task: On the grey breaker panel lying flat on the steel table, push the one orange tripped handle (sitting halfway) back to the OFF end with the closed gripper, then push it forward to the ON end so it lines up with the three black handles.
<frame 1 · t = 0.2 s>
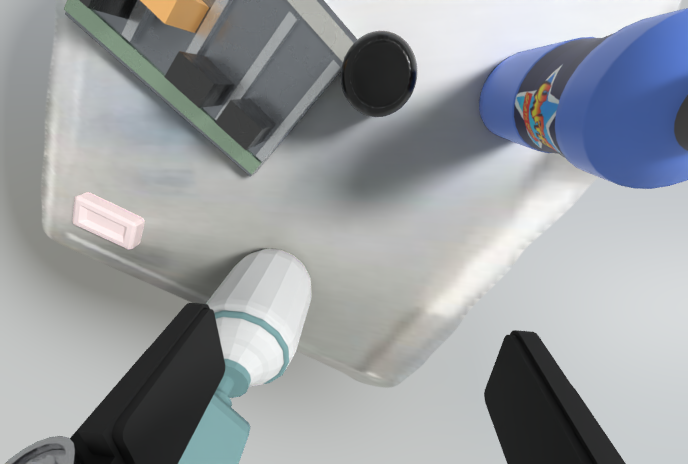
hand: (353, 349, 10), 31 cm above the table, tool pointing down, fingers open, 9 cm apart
water bottle: (520, 96, 33), on the table
breaker panel: (219, 31, 33), on the table
supplement bottle: (376, 78, 33), on the table
soap bar: (116, 217, 45), on the table
soap bottle: (278, 274, 47), on the table
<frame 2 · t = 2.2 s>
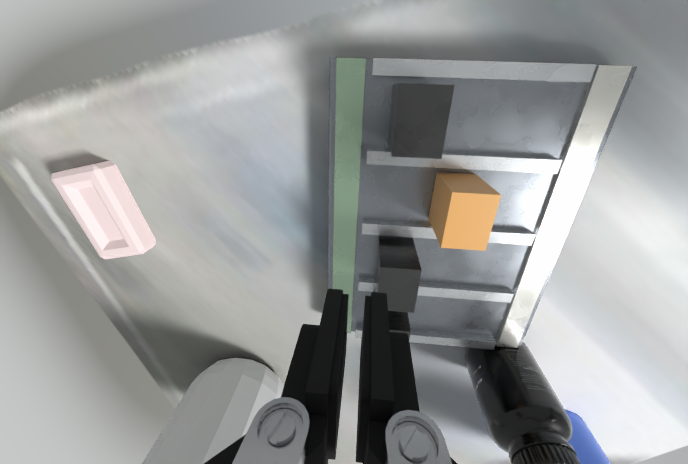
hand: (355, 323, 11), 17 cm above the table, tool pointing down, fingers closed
water bottle: (546, 429, 39), on the table
breaker panel: (439, 220, 27), on the table
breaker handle: (459, 208, 21), point 5 cm above the table, slide at 4.0 cm
supplement bottle: (493, 352, 33), on the table
soap bar: (118, 207, 30), on the table
soap bottle: (248, 379, 39), on the table
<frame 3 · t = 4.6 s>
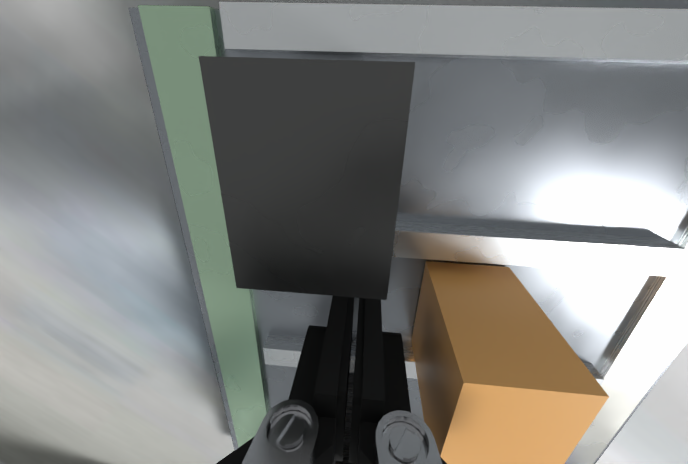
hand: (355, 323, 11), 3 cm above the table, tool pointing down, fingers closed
breaker panel: (416, 323, 15), on the table
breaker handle: (476, 358, 9), point 5 cm above the table, slide at 3.1 cm, touching gripper
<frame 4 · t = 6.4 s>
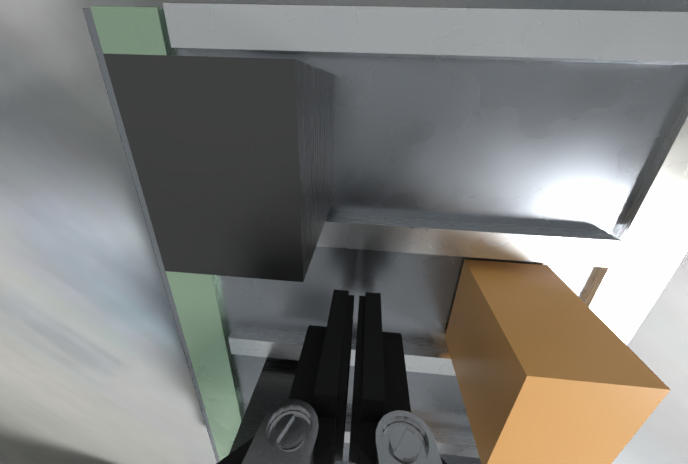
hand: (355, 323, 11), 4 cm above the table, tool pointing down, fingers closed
breaker panel: (382, 316, 15), on the table
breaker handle: (519, 354, 10), point 5 cm above the table, slide at 0.0 cm
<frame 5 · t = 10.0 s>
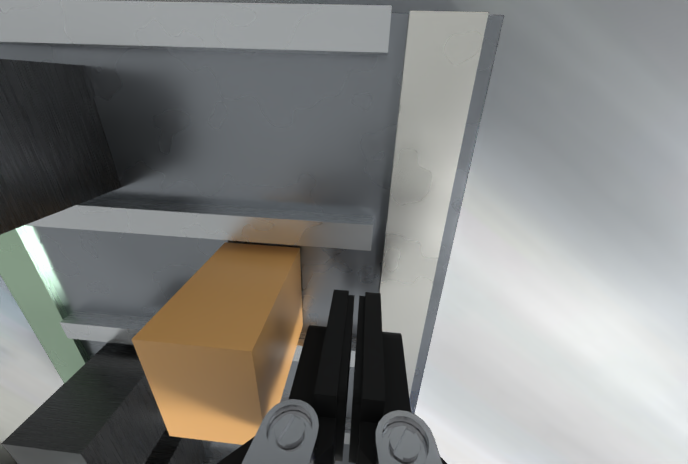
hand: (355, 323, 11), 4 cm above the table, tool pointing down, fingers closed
breaker panel: (233, 303, 16), on the table
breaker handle: (242, 330, 10), point 5 cm above the table, slide at 1.2 cm, touching gripper
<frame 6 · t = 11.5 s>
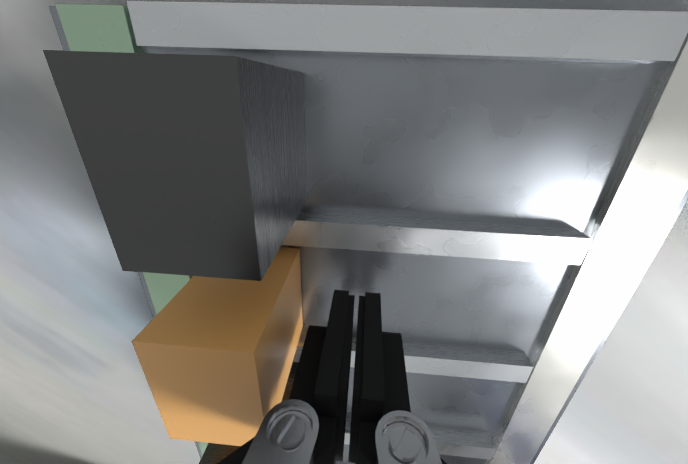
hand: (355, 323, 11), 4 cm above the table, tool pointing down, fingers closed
breaker panel: (365, 315, 15), on the table
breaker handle: (243, 331, 10), point 5 cm above the table, slide at 8.3 cm, touching gripper
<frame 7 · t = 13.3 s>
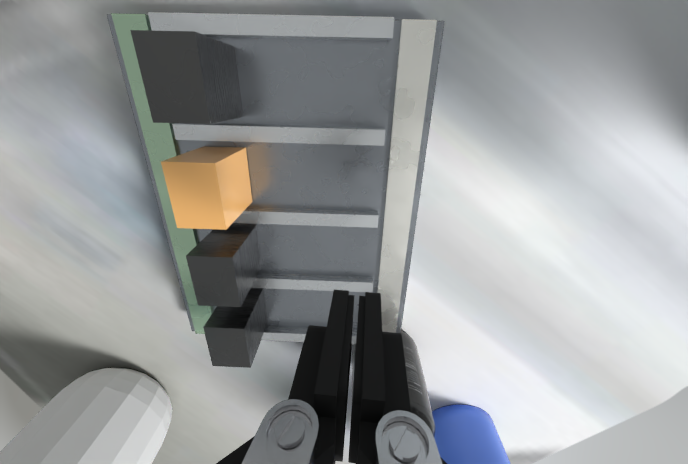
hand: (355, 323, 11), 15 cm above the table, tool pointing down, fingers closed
water bottle: (454, 426, 37), on the table
breaker panel: (291, 205, 24), on the table
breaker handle: (214, 184, 19), point 5 cm above the table, slide at 8.0 cm
supplement bottle: (383, 347, 31), on the table
soap bottle: (133, 390, 36), on the table
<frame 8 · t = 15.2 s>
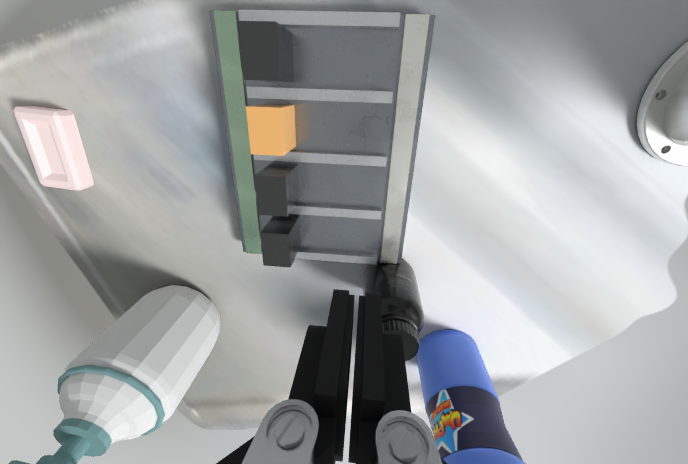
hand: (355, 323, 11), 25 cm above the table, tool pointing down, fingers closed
water bottle: (445, 350, 45), on the table
breaker panel: (323, 153, 33), on the table
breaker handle: (273, 128, 28), point 5 cm above the table, slide at 8.0 cm
supplement bottle: (388, 275, 40), on the table
soap bar: (67, 147, 36), on the table
soap bottle: (190, 308, 46), on the table
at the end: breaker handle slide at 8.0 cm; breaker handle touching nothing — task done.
